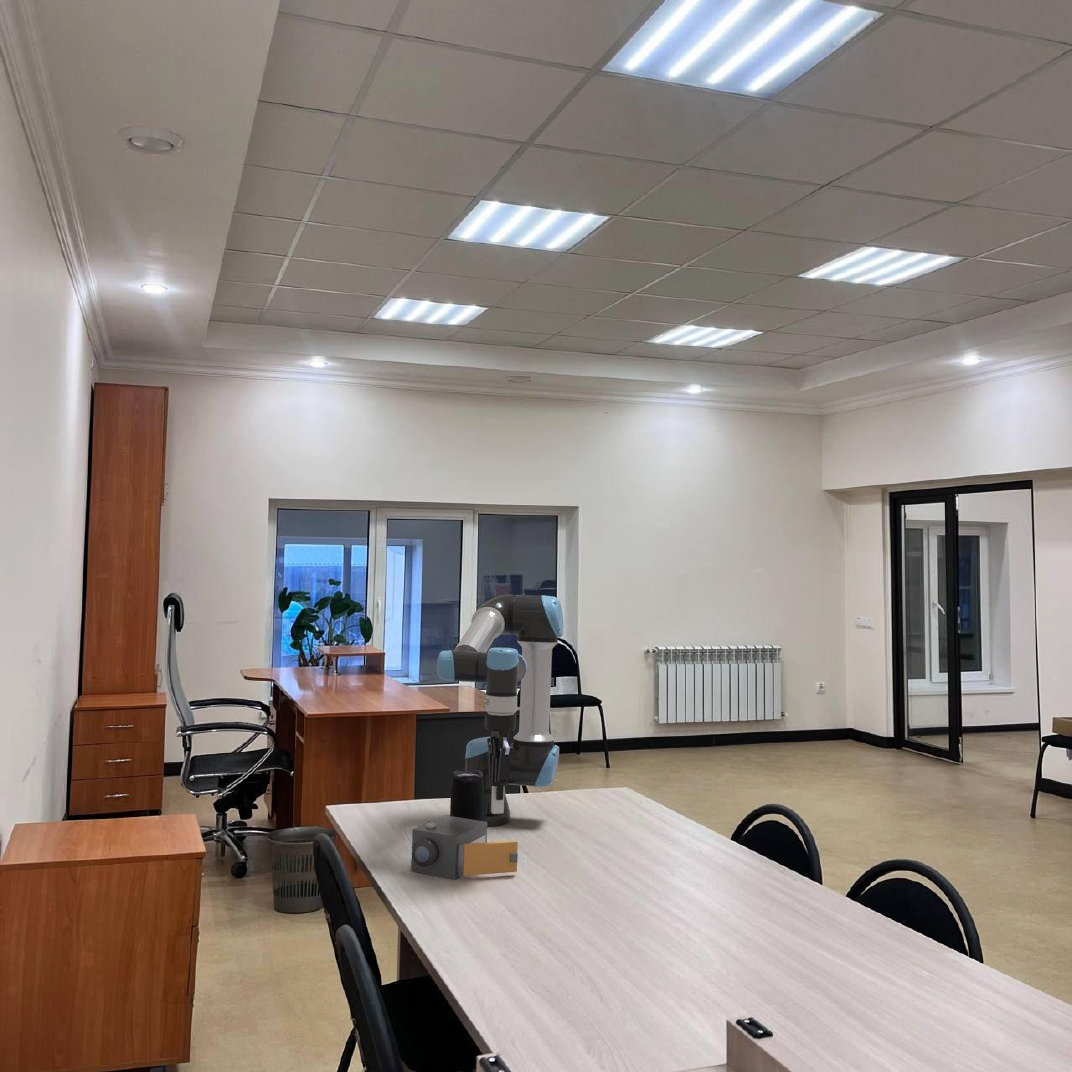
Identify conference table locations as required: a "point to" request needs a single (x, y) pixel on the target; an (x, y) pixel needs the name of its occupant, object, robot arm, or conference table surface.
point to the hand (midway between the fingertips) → (497, 812)
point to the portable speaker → (467, 795)
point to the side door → (487, 858)
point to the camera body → (443, 844)
